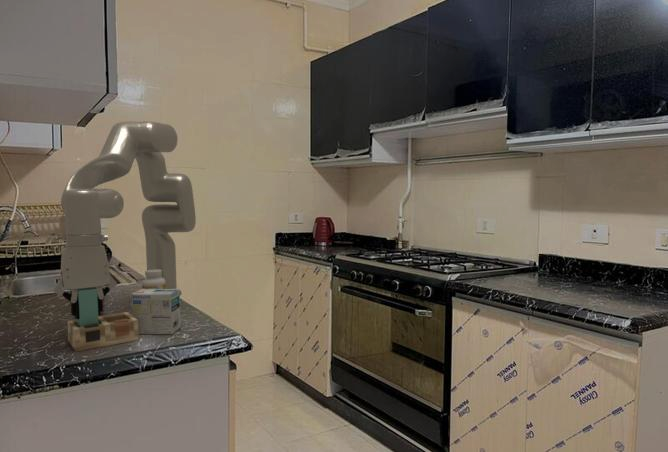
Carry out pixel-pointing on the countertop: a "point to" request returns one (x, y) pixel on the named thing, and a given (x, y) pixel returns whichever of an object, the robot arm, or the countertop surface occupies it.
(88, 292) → the teal tall block
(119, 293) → the countertop surface
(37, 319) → the countertop surface
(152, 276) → the supplement bottle
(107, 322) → the socket block
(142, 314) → the light bulb box
